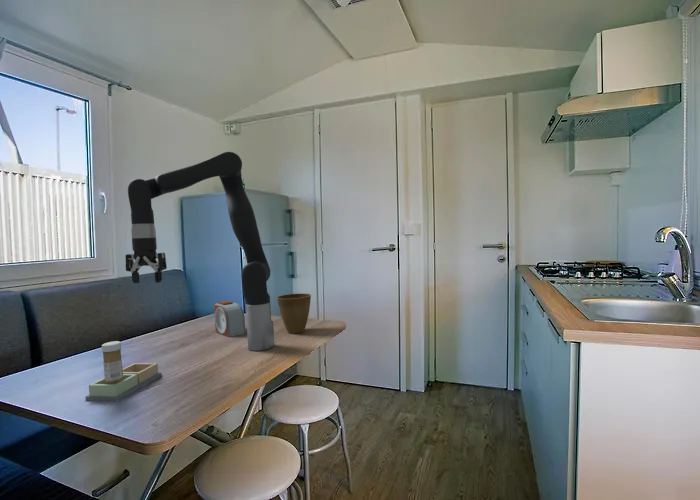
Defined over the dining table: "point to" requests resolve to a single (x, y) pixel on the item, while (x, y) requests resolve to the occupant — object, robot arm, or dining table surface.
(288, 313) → the plant pot
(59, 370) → the dining table surface
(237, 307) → the alarm clock
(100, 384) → the socket board
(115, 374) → the sprinkles bottle
